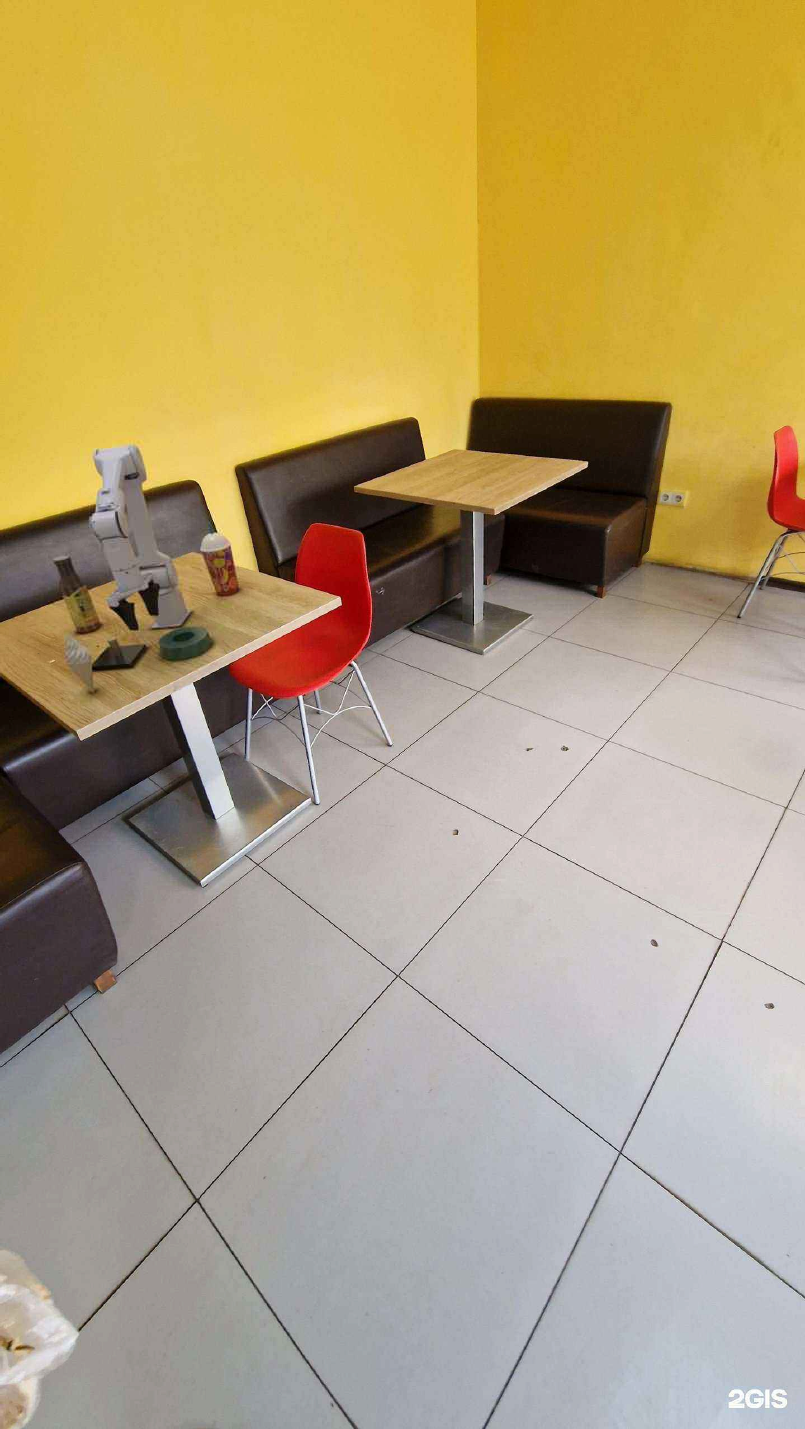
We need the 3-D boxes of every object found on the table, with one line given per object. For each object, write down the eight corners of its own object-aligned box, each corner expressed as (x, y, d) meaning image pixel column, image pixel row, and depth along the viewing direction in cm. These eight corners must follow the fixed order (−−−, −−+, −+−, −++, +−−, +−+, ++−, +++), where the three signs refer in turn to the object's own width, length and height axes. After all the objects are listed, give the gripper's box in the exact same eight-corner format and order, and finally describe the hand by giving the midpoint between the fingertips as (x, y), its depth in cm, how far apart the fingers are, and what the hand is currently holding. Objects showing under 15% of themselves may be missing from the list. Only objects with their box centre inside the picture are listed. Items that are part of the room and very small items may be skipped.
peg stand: (108, 651, 158) (100, 631, 155) (147, 648, 157) (139, 627, 154) (91, 671, 150) (82, 650, 147) (131, 667, 149) (123, 647, 146)
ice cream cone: (98, 683, 144) (72, 624, 136) (109, 689, 141) (83, 629, 133) (77, 694, 141) (49, 633, 133) (88, 700, 138) (60, 639, 130)
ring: (172, 639, 160) (168, 628, 158) (216, 635, 159) (213, 624, 157) (156, 661, 150) (151, 649, 149) (203, 658, 150) (199, 646, 148)
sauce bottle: (92, 633, 168) (62, 562, 157) (72, 633, 170) (41, 563, 159) (106, 623, 174) (78, 553, 163) (87, 623, 175) (58, 554, 164)
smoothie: (212, 589, 186) (193, 522, 175) (240, 583, 188) (223, 516, 177) (214, 599, 180) (194, 530, 168) (243, 593, 181) (225, 524, 170)
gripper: (117, 579, 132) (139, 637, 139) (159, 554, 143) (177, 609, 150) (90, 578, 134) (113, 636, 141) (133, 554, 145) (152, 608, 153)
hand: (144, 622), depth 146 cm, fingers open, 7 cm apart
